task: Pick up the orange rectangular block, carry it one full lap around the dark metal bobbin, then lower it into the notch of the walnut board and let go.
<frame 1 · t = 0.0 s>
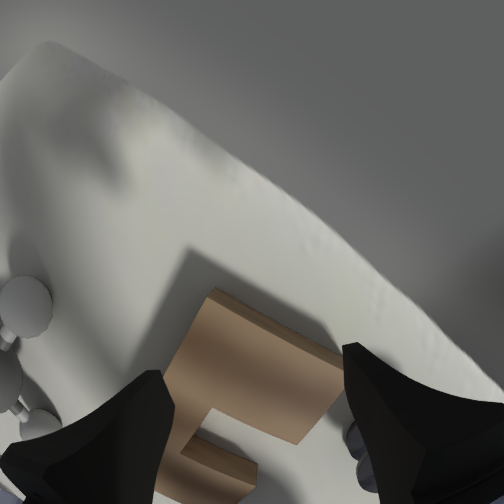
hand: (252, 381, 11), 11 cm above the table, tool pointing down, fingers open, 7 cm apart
notched board: (218, 419, 23), on the table
molecule model: (9, 346, 24), on the table
bobbin: (383, 431, 22), on the table
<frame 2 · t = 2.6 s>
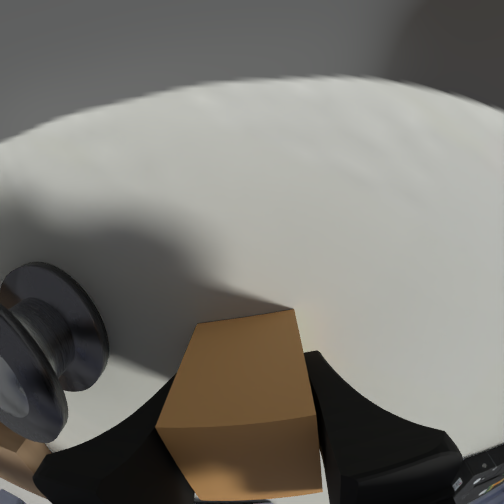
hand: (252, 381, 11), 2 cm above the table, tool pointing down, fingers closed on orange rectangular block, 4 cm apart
orange rectangular block: (253, 357, 13), on the table, touching gripper
bobbin: (52, 327, 13), on the table
disk drive: (487, 468, 17), on the table
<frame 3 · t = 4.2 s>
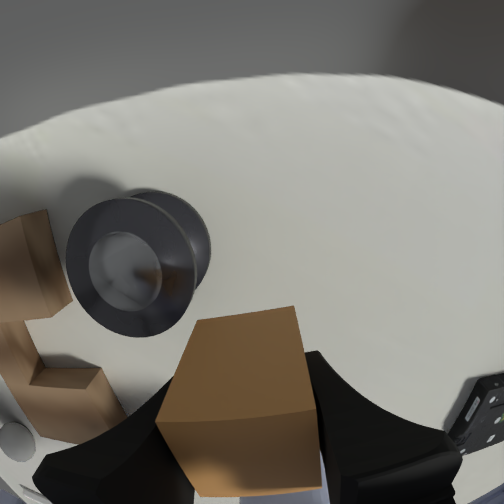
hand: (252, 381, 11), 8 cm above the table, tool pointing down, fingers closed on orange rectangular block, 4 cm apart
orange rectangular block: (253, 354, 13), point 7 cm above the table, touching gripper
notched board: (41, 338, 21), on the table
bobbin: (156, 247, 19), on the table
disk drive: (498, 402, 23), on the table
marker: (55, 500, 32), on the table
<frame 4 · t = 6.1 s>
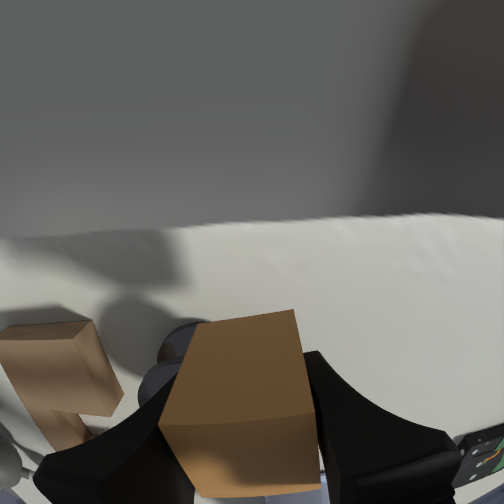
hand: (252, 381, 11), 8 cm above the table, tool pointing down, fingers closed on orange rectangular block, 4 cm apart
orange rectangular block: (253, 356, 13), point 6 cm above the table, touching gripper
notched board: (89, 415, 23), on the table
molecule model: (10, 437, 27), on the table
bobbin: (207, 365, 21), on the table
disk drive: (481, 447, 25), on the table
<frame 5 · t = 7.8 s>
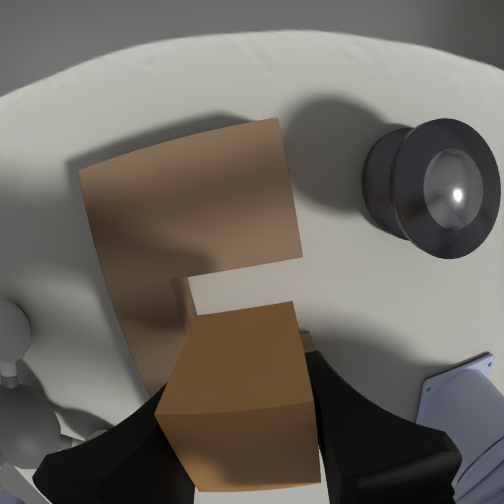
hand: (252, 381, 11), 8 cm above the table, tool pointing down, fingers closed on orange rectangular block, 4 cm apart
orange rectangular block: (252, 349, 13), point 6 cm above the table, touching gripper
notched board: (217, 304, 19), on the table
molecule model: (40, 396, 23), on the table
bobbin: (412, 183, 17), on the table
when the fingers open (4 cm above the table, at t = 9.4 s): orange rectangular block drops 2 cm, on the table.
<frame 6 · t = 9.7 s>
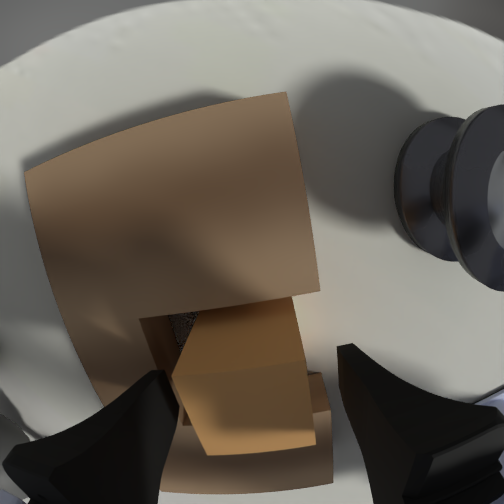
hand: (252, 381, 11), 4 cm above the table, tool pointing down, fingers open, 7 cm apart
orange rectangular block: (254, 330, 15), on the table
notched board: (205, 341, 15), on the table
molecule model: (18, 420, 19), on the table
bobbin: (453, 188, 12), on the table
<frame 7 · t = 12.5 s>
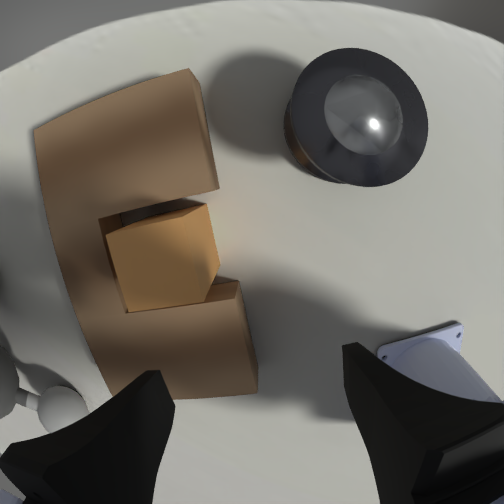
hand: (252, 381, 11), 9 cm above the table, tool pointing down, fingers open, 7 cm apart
orange rectangular block: (183, 240, 19), on the table
notched board: (149, 251, 20), on the table
molecule model: (7, 356, 24), on the table
bobbin: (339, 128, 17), on the table
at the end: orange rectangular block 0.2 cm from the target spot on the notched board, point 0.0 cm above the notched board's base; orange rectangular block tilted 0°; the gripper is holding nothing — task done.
